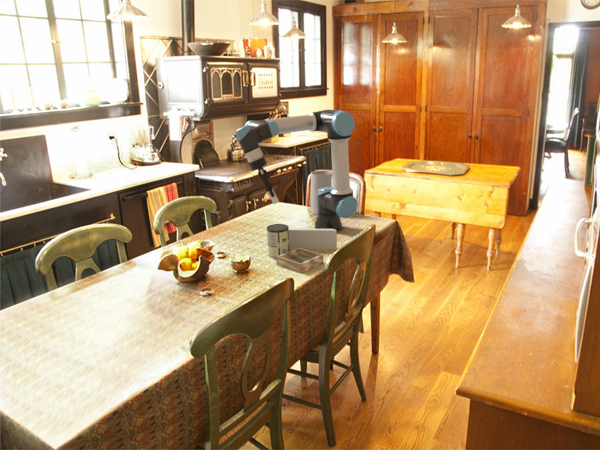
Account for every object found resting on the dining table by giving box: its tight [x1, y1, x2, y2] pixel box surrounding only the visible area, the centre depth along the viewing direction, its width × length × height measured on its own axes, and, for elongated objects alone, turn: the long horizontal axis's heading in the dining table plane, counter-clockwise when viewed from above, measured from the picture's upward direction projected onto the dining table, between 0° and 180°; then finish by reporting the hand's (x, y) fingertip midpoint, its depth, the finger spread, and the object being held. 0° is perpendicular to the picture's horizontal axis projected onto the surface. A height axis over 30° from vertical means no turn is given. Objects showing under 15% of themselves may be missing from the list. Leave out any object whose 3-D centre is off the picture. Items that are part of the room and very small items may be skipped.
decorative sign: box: [288, 227, 338, 251], centre depth 239 cm, size 32×4×10 cm, turn 84°
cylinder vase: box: [310, 170, 333, 216], centre depth 296 cm, size 12×12×25 cm
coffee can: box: [266, 223, 290, 260], centre depth 230 cm, size 10×10×14 cm
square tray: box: [276, 248, 324, 274], centre depth 220 cm, size 15×15×4 cm
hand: (275, 201), depth 225 cm, fingers open, 13 cm apart
